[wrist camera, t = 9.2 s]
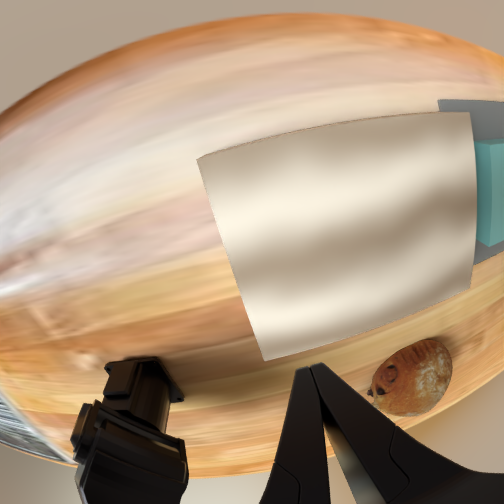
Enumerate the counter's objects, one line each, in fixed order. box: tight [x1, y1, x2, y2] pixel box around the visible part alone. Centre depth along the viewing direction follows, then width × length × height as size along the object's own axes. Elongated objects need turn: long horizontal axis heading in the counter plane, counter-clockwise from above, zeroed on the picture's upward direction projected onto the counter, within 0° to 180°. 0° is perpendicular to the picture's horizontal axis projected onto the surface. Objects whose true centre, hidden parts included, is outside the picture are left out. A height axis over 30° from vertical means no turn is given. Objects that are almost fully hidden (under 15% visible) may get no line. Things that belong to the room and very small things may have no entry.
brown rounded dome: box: [367, 339, 452, 416], centre depth 25 cm, size 10×10×8 cm
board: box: [197, 112, 477, 361], centre depth 18 cm, size 14×18×4 cm
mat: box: [438, 100, 504, 265], centre depth 18 cm, size 16×14×1 cm
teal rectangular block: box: [474, 138, 504, 247], centre depth 17 cm, size 9×6×2 cm, turn 15°
